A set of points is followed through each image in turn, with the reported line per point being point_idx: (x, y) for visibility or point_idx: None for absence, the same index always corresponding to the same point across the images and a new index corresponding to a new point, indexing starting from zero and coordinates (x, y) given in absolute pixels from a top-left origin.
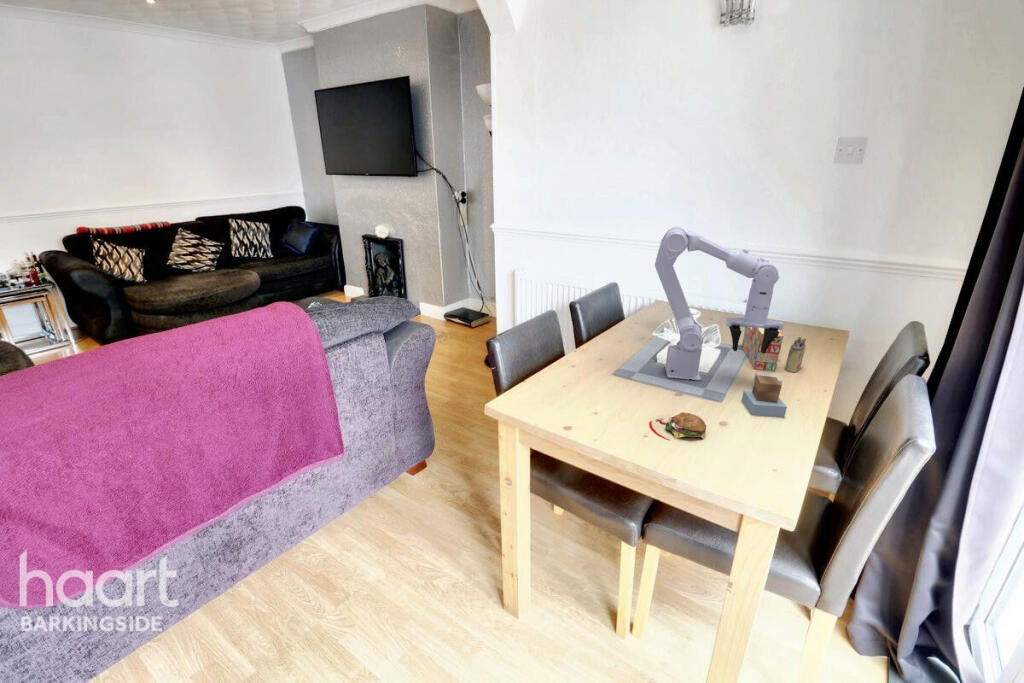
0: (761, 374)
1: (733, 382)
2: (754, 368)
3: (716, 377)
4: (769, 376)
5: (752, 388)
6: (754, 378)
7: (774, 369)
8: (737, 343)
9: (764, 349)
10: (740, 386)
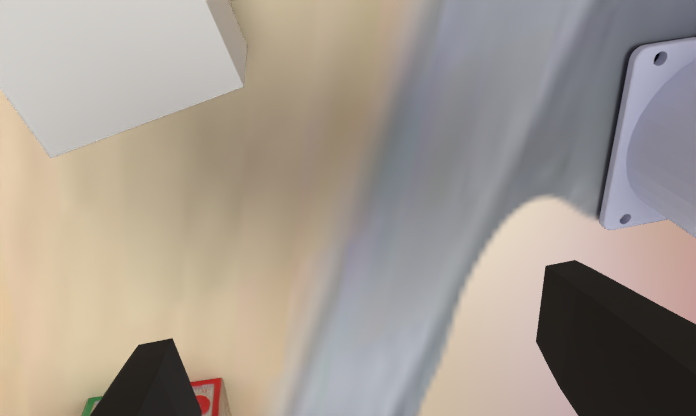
0: (175, 70)
1: (381, 119)
2: (217, 384)
3: (488, 163)
4: (78, 38)
5: (244, 41)
6: (243, 67)
7: (87, 411)
8: (666, 343)
9: (143, 388)
10: (337, 58)
